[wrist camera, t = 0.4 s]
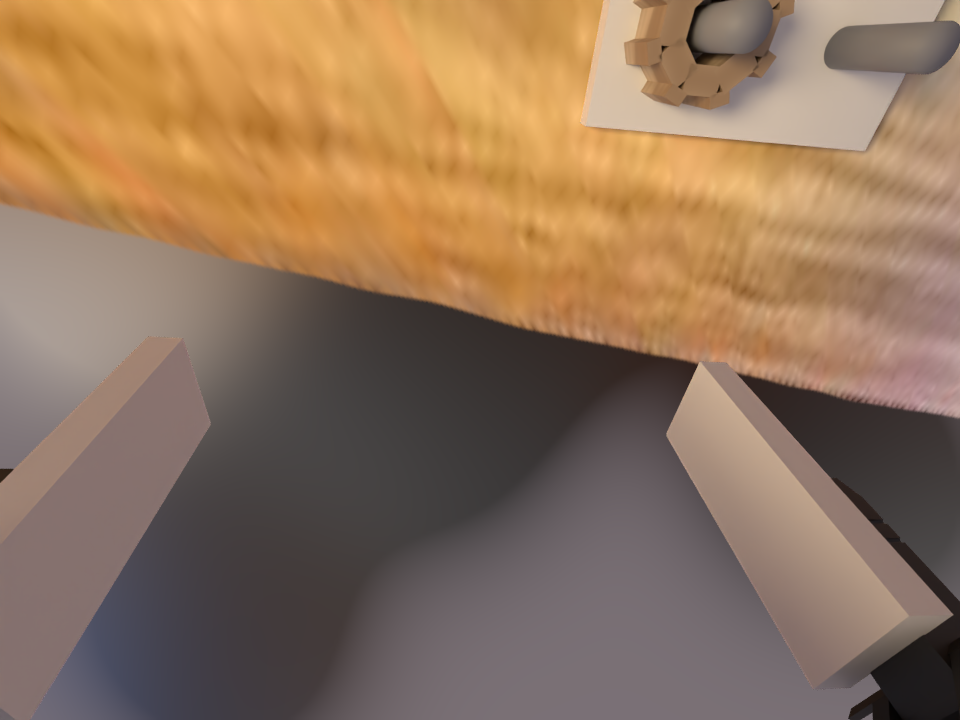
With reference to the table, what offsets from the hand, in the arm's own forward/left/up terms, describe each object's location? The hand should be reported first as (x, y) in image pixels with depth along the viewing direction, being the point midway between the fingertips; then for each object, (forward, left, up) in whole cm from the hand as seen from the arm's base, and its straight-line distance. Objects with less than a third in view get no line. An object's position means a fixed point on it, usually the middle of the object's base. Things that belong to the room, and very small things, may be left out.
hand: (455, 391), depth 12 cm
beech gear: (-10, +15, -26) cm, 31 cm away
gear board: (-10, +21, -27) cm, 36 cm away
